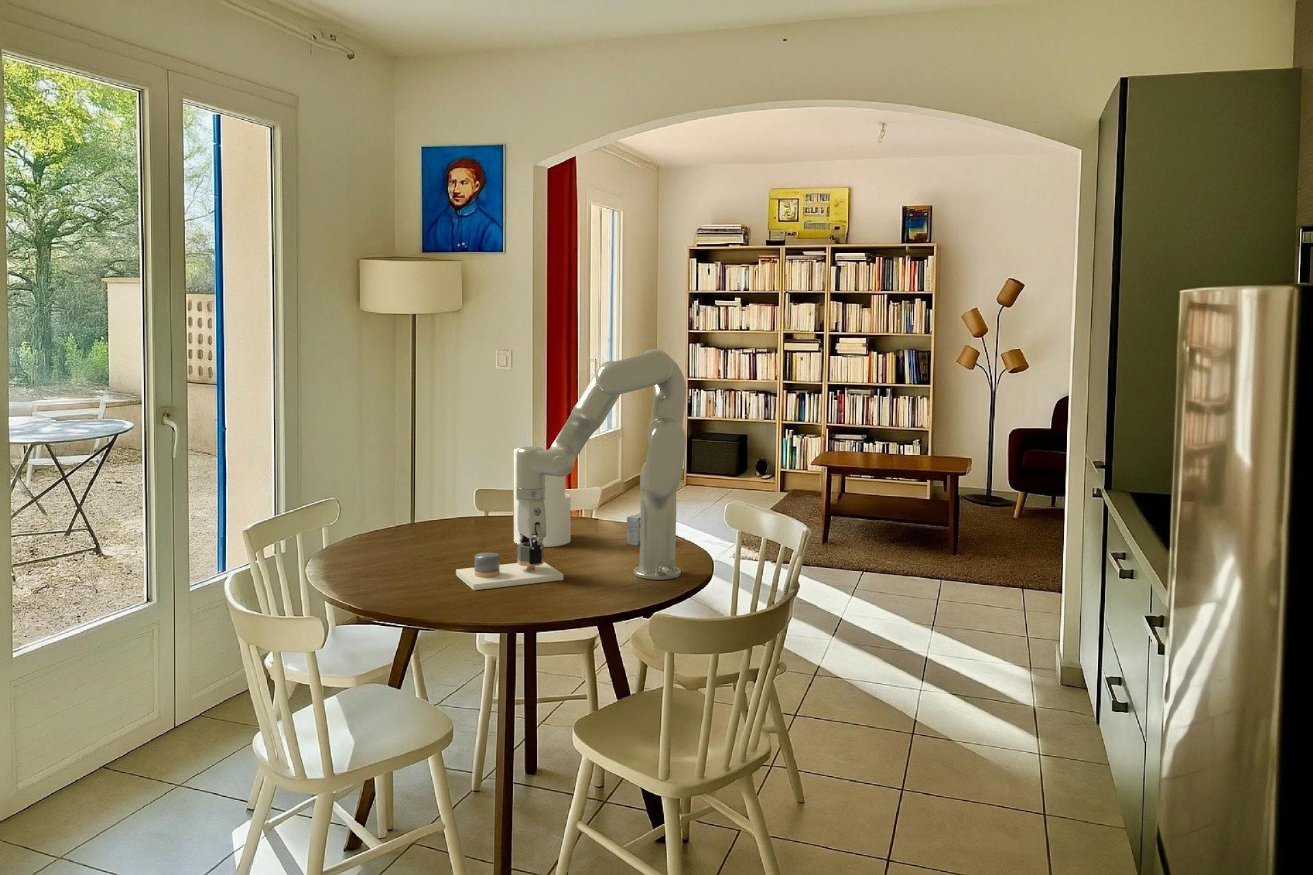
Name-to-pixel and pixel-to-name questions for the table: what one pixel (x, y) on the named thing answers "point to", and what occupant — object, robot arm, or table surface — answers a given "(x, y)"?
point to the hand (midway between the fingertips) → (530, 559)
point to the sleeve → (526, 554)
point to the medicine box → (633, 530)
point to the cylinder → (550, 511)
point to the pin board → (504, 573)
